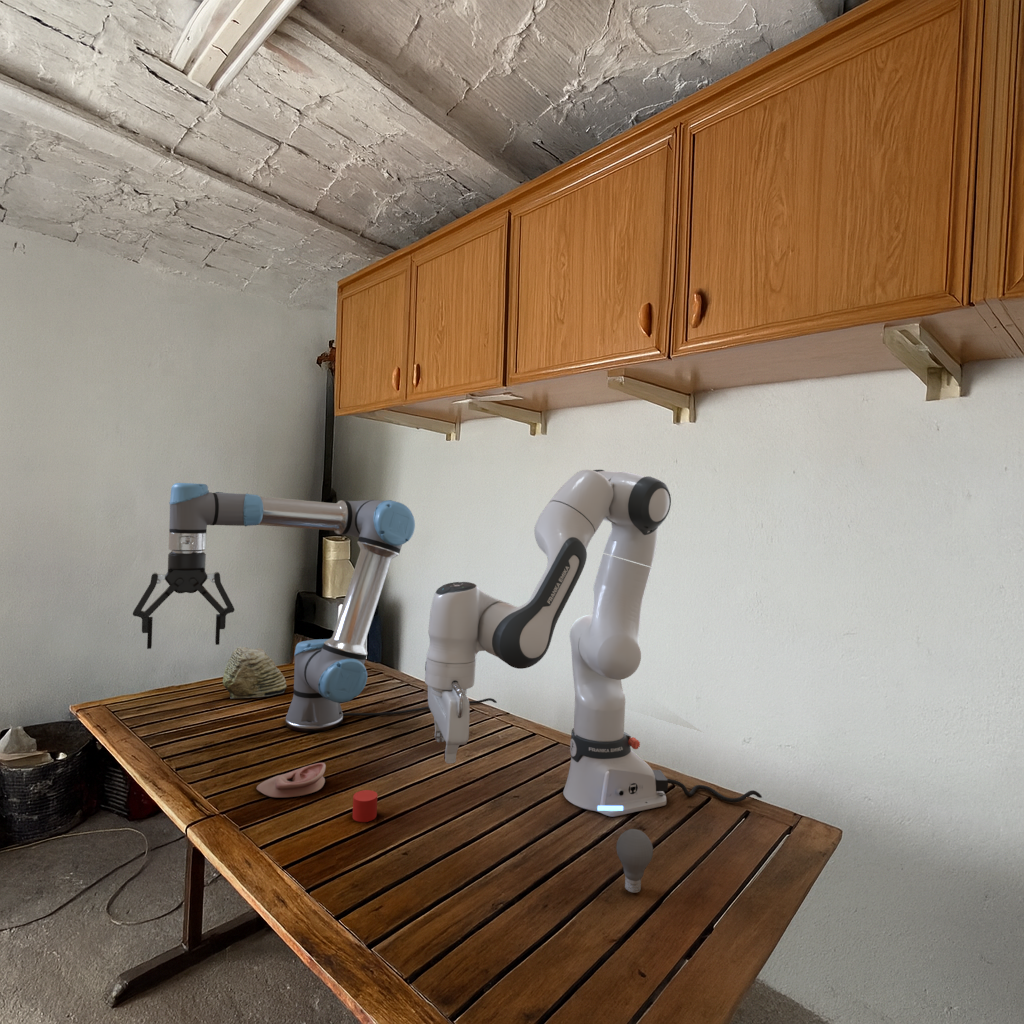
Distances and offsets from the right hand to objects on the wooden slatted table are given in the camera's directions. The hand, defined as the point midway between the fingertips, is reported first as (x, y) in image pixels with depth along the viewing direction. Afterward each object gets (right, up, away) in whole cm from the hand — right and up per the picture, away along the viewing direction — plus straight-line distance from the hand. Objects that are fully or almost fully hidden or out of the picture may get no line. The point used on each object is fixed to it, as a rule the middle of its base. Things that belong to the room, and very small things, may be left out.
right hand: (444, 750), depth 113 cm
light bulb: (+32, -21, -7) cm, 39 cm away
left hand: (-62, +12, +30) cm, 70 cm away
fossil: (-69, -15, +85) cm, 110 cm away
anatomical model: (-36, -17, +25) cm, 47 cm away
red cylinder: (-17, -18, +14) cm, 29 cm away
